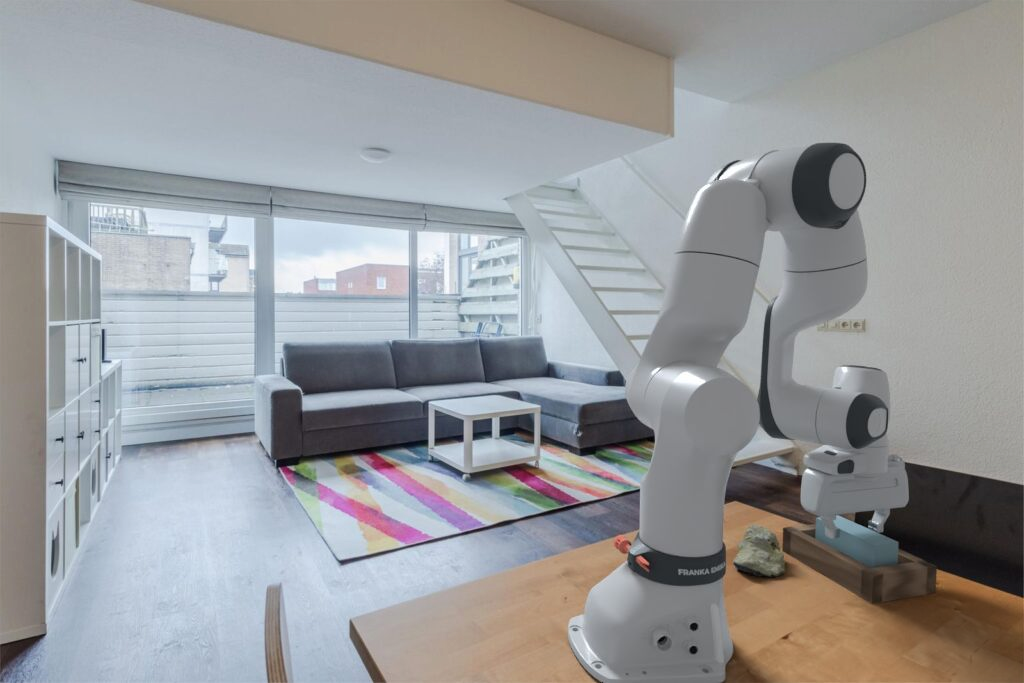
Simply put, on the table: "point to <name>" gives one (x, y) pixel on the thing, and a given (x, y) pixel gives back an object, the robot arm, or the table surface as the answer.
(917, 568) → the frame
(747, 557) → the rock
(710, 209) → the robot arm
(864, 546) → the light blue rectangular block
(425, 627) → the table surface
